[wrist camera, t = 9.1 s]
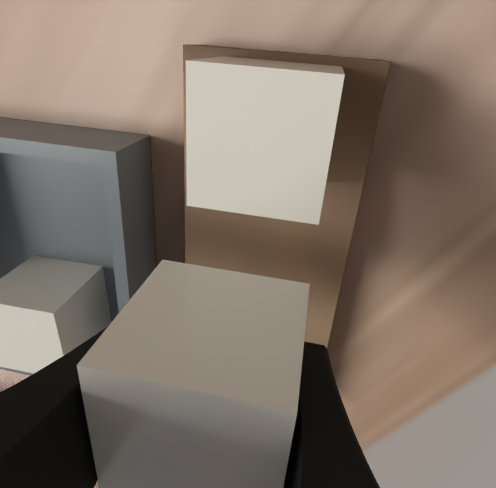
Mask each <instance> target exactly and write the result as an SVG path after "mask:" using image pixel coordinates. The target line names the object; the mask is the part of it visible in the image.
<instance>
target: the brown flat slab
mask: <svg viewBox="0 0 496 488" xmlns="http://www.w3.org/2000/svg"><path fill="white" fill-rule="evenodd" d="M223 56H227V57H239V58H250V59H262V60H273V61H285V62H296V63H308V64H319V65H331V66H342V68H343V71H344V74H345V77H344V82H343V88H342V94H341V100H340V105H339V111H338V117H337V123H336V128H335V134H334V140H333V146H332V152H331V157H330V163H329V169H328V175H327V180H326V186H325V192H324V198H323V203H322V209H321V215H320V221H319V225H316V224H309V223H302V222H295V221H289V220H282V219H275V218H268V217H261V216H254V215H247V214H240V213H233V212H227V211H220V210H213V209H206V208H199V207H192V206H187V183H186V60H194V59H203V58H213V57H223ZM389 67H390V62H389V61H385V60H374V59H362V58H350V57H338V56H326V55H314V54H302V53H290V52H278V51H266V50H254V49H242V48H230V47H218V46H206V45H183V74H184V184H185V263H187V264H193V265H199V266H205V267H211V268H217V269H223V270H229V271H235V272H241V273H247V274H253V275H259V276H266V277H272V278H278V279H284V280H290V281H296V282H302V283H308V284H310V287H309V297H308V308H307V318H306V328H305V338H304V341H305V342H310V343H315V344H320V345H324V346H325V347H326V348H327V346H328V341H329V337H330V332H331V328H332V323H333V319H334V314H335V310H336V305H337V301H338V296H339V292H340V287H341V283H342V278H343V274H344V269H345V265H346V260H347V256H348V251H349V247H350V242H351V238H352V233H353V229H354V224H355V220H356V215H357V211H358V206H359V202H360V197H361V193H362V188H363V184H364V179H365V175H366V170H367V166H368V161H369V157H370V152H371V148H372V143H373V139H374V134H375V130H376V125H377V121H378V116H379V112H380V107H381V103H382V98H383V94H384V89H385V85H386V80H387V76H388V71H389Z"/></svg>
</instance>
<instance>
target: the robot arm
mask: <svg viewBox="0 0 496 488" xmlns="http://www.w3.org/2000/svg"><path fill="white" fill-rule="evenodd" d="M107 327H108V326H107ZM107 327H106V328H105V329H103V330H102V331H100V332H99V333H97V334H96V335H94V336H93V337H91V338H90V339H88V340H87V341H85V342H84V343H82V344H81V345H79V346H78V347H76V348H75V349H73V350H72V351H70V352H69V353H67V354H66V355H64V356H62V357H61V358H59V359H57V360H56V361H54V362H52V363H51V364H49V365H47V366H46V367H44V368H43V369H41V370H39V371H38V372H36V373H34V374H33V375H31V376H29V377H28V378H26V379H24V380H22V381H21V382H19V383H17V384H15V385H13V386H12V387H10V388H8V389H6V390H4V391H2V392H0V488H94V486H95V484H96V482H97V480H98V478H97V473H96V467H95V462H94V457H93V451H92V446H91V440H90V435H89V430H88V424H87V419H86V413H85V408H84V403H83V397H82V392H81V386H80V381H79V376H78V370H77V364H78V363H79V362H80V361H81V359H82V358H83V357H84V356H85V354H86V353H87V352H88V351H89V350H90V348H91V347H92V346H93V345H94V343H95V342H96V341H97V340H98V338H99V337H100V336H101V335H102V334H103V332H104V331H105V330H106V329H107ZM284 488H380V487H379V485H378V483H377V482H376V479H375V477H374V475H373V473H372V471H371V469H370V467H369V465H368V463H367V461H366V458H365V456H364V454H363V452H362V449H361V447H360V445H359V443H358V440H357V438H356V436H355V433H354V431H353V429H352V426H351V424H350V421H349V419H348V416H347V413H346V411H345V408H344V405H343V403H342V400H341V397H340V394H339V391H338V388H337V385H336V382H335V379H334V375H333V372H332V368H331V364H330V360H329V355H328V349H327V348H326V347H325V346H324V345H320V344H315V343H310V342H305V341H304V349H303V359H302V369H301V380H300V390H299V400H298V410H297V417H296V422H295V427H294V432H293V438H292V443H291V448H290V454H289V459H288V464H287V469H286V475H285V480H284Z"/></svg>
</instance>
